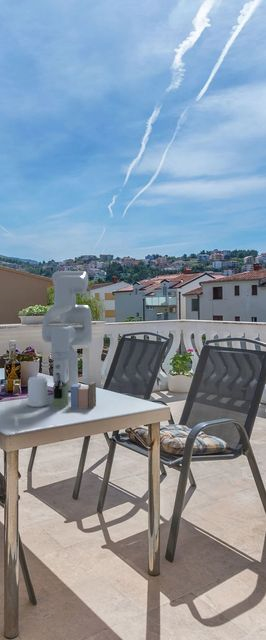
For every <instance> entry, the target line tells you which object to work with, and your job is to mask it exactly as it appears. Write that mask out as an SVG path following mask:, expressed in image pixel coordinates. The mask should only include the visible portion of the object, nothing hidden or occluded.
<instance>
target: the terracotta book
mask: <svg viewBox="0 0 266 640" xmlns="http://www.w3.org/2000/svg"><path fill="white" fill-rule="evenodd" d="M77 409H90V408H89V399H88V386H82V385H81V387H80V388H79V389H78V408H77Z"/></svg>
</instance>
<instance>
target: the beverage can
mask: <svg viewBox="0 0 266 640" xmlns="http://www.w3.org/2000/svg"><path fill="white" fill-rule="evenodd" d="M48 401H49V400H48V379H47V377H46V376H41V375H39V376H36V375H35V376H30V377H29V378H28V379H27V402H28V403H27V404H28V406H29V407H31V408H43V407H45V406H47V405H48Z"/></svg>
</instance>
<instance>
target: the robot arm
mask: <svg viewBox="0 0 266 640" xmlns="http://www.w3.org/2000/svg"><path fill="white" fill-rule="evenodd" d="M51 279H52V280H51V281H52V283H53V286H54V294H53V295H54V298H53V305H52V306H51V307H50V308H49V309H48V310H47V311H46V313H45V314H44V316H43V318H42V327H41V337H42V340H43V341H44V342H46V343H50V344H51V346H50V347H51V350H50V351H51V352H50V353H51V354H50V355H51V357H50V358H51V360H52V361H53V365H52V366H53V367H52V368H53V369H52V381H53V386H54V398H55V399H61V398H62V389H61V386H62V384H68V392H71V386H72V385H73V384H79V372H78V371H79V369H78V368H79V358H78V357H79V355H78V352H77V351H76V349H75V348H74V346H89V345H90V344H91V343H92V339H93V336H92V332H93V325H92V323H93V322H92V319H93V318H92V310H91V308H90V306H89V305H87V304H77V295H79V294H80V295H83V294H86V293H87V290H88V285H89V275H88V273H87V272H86V271H84V270H83V271H82V270H59V271H54V272H53V273H52V276H51ZM56 317H59V322H60V323H61V324H53V325H52V324H51V322H52V320H53V319H55V318H56ZM72 325H79V326H72ZM80 325H82V326H80ZM59 384H60V386H59Z"/></svg>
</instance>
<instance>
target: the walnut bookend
mask: <svg viewBox="0 0 266 640" xmlns="http://www.w3.org/2000/svg"><path fill="white" fill-rule="evenodd" d="M87 385H88V386H87V387H88V399H89V408H88V409H94V408H96V406H97V381H91V382H89V383H88V384H87Z"/></svg>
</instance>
